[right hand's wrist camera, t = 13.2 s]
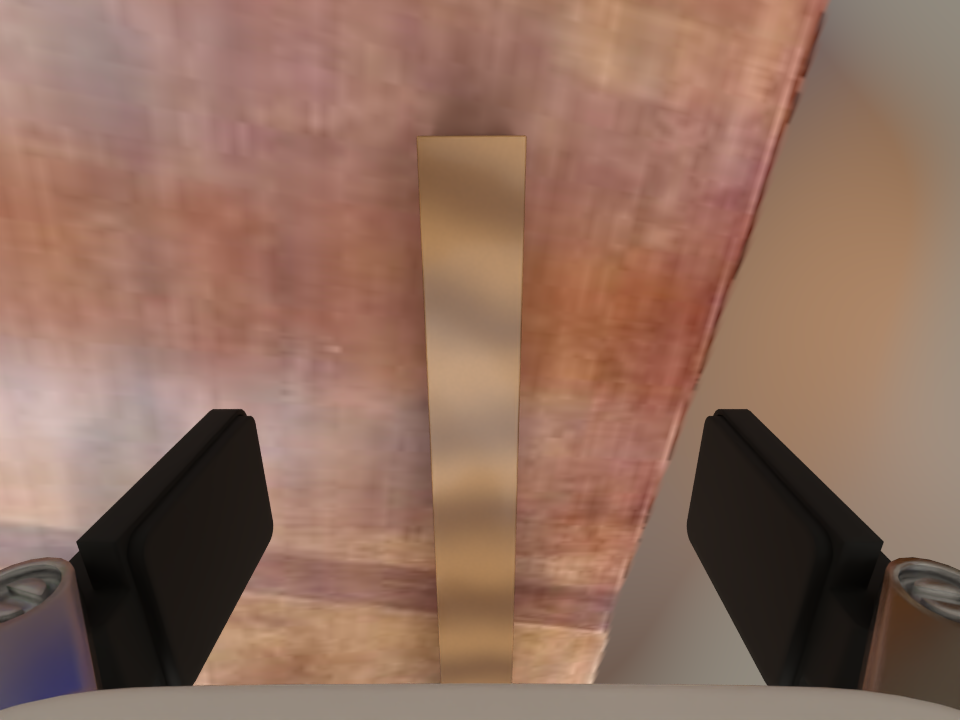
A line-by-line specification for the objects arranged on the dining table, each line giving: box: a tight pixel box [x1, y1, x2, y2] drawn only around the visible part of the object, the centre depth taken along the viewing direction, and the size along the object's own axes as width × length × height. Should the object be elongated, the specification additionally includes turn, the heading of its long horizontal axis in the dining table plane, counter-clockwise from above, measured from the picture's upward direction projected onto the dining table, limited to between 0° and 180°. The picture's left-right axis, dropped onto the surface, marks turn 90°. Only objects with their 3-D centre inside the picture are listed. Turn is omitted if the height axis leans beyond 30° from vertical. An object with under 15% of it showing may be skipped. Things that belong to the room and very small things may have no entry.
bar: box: [417, 135, 527, 684], centre depth 41 cm, size 61×5×8 cm, turn 0°
